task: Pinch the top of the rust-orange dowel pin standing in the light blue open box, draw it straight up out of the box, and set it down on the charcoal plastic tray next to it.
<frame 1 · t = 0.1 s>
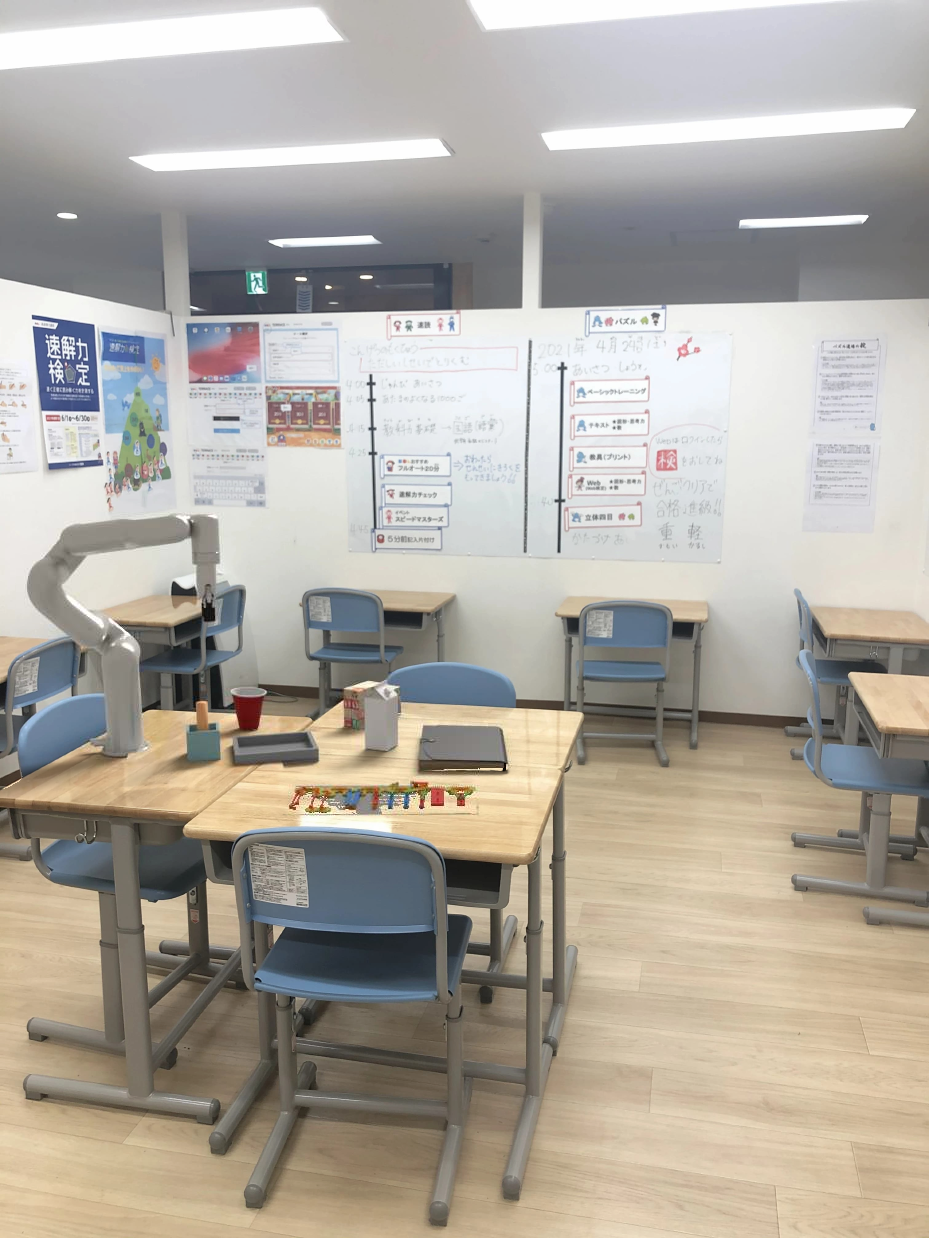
hand: (208, 619, 260), 37 cm above the table, tool pointing down, fingers open, 9 cm apart
light blue open box: (204, 759, 252), on the table
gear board: (383, 802, 222), on the table
stack of blocks: (373, 720, 292), on the table
tray: (274, 754, 256), on the table
plastic cup: (250, 728, 282), on the table
file folder: (462, 754, 259), on the table
milk carton: (381, 747, 264), on the table
dowel pin: (203, 755, 252), point 1 cm above the table, touching light blue open box
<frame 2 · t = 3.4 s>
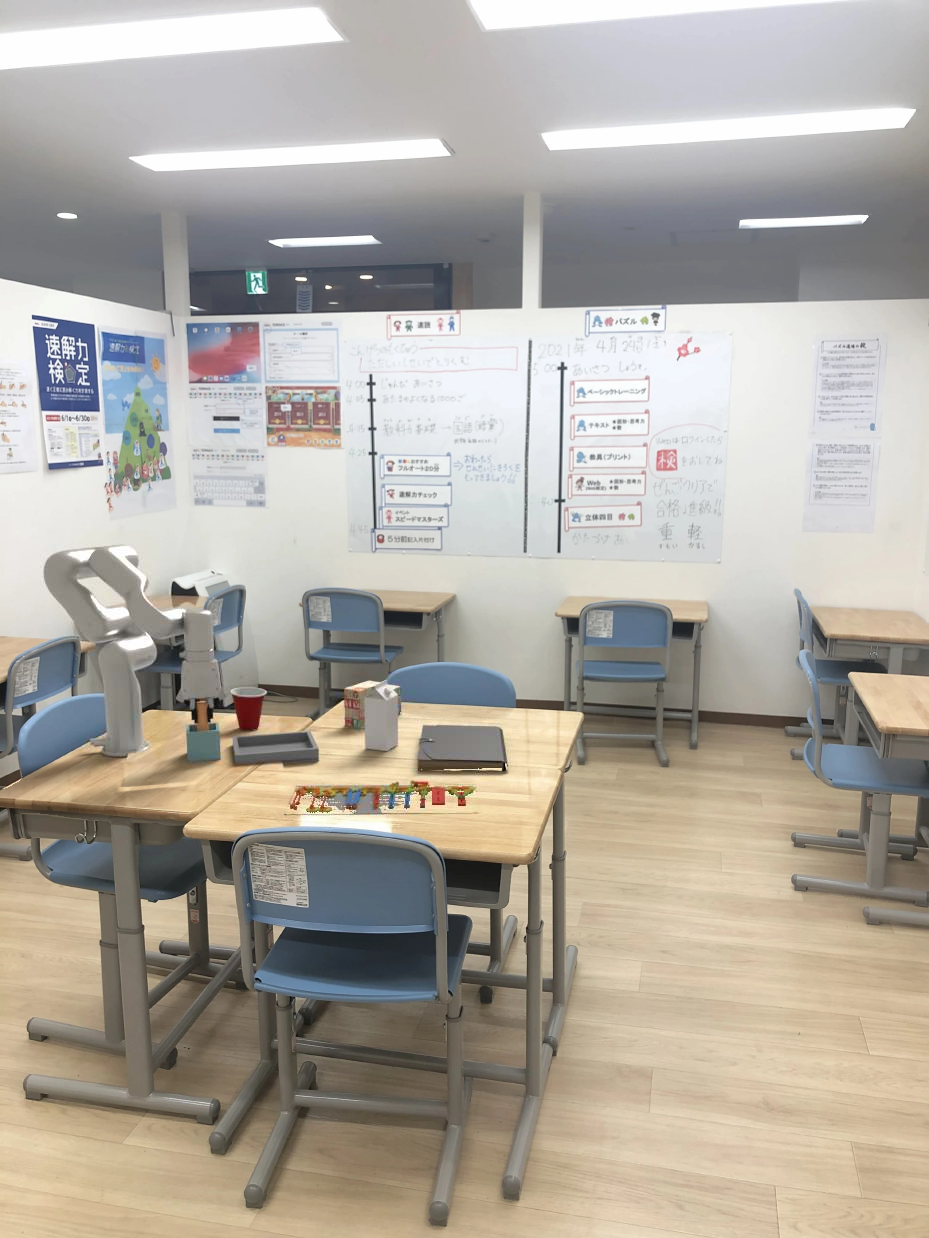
hand: (202, 721, 250), 11 cm above the table, tool pointing down, fingers closed on dowel pin, 3 cm apart
dowel pin: (203, 755, 252), point 1 cm above the table, touching light blue open box, gripper
everything else where it was.
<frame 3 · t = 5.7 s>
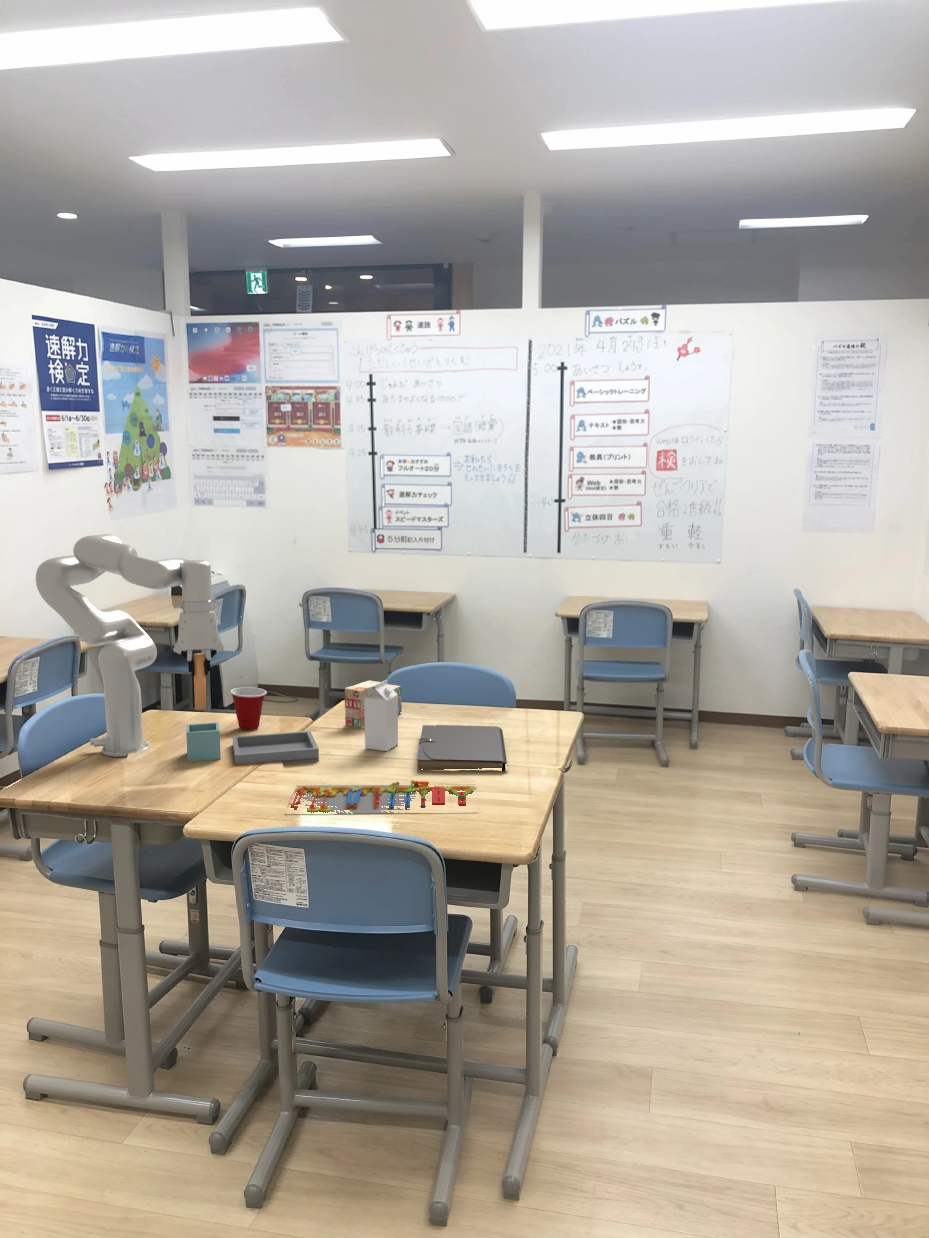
hand: (199, 673, 248), 24 cm above the table, tool pointing down, fingers closed on dowel pin, 3 cm apart
dowel pin: (200, 708, 250), point 14 cm above the table, touching gripper
everything else where it was.
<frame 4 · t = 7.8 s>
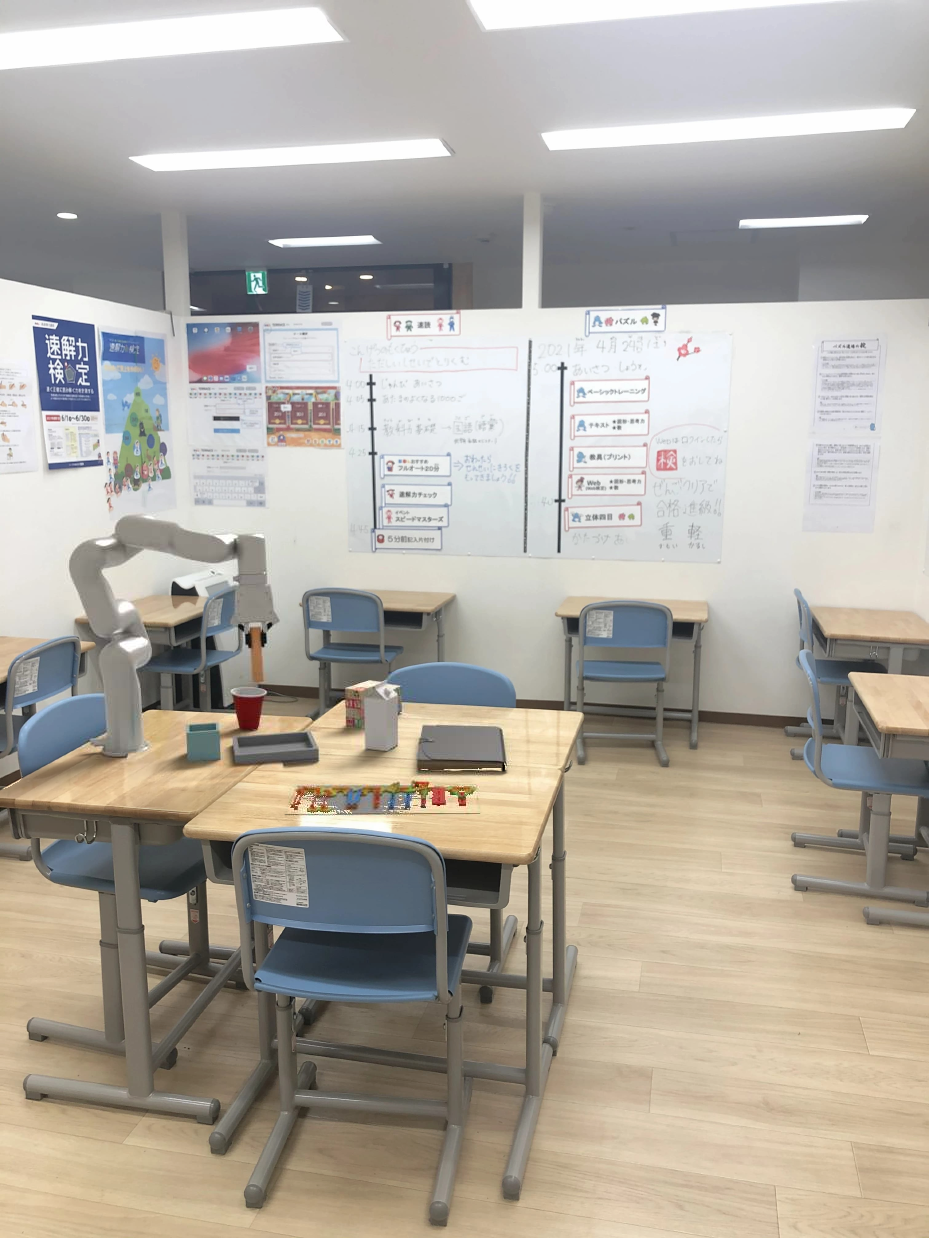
hand: (256, 646, 250), 31 cm above the table, tool pointing down, fingers closed on dowel pin, 3 cm apart
dowel pin: (257, 681, 252), point 21 cm above the table, touching gripper
everything else where it was.
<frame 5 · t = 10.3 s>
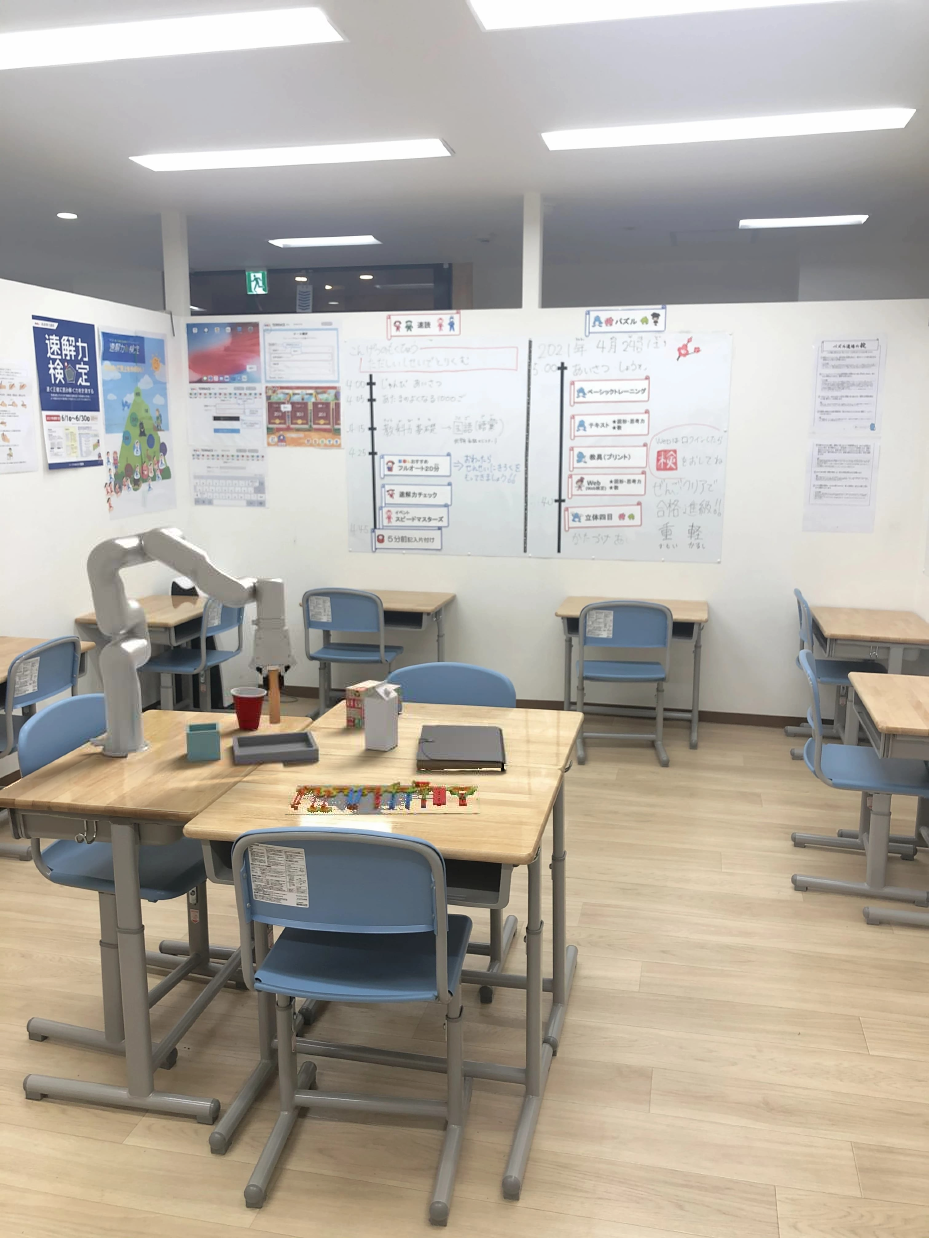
hand: (273, 688, 253), 19 cm above the table, tool pointing down, fingers closed on dowel pin, 3 cm apart
dowel pin: (275, 722, 255), point 9 cm above the table, touching gripper
when the fingers open (12 cm above the table, at t = 12.3 s): dowel pin drops 1 cm, resting on tray.
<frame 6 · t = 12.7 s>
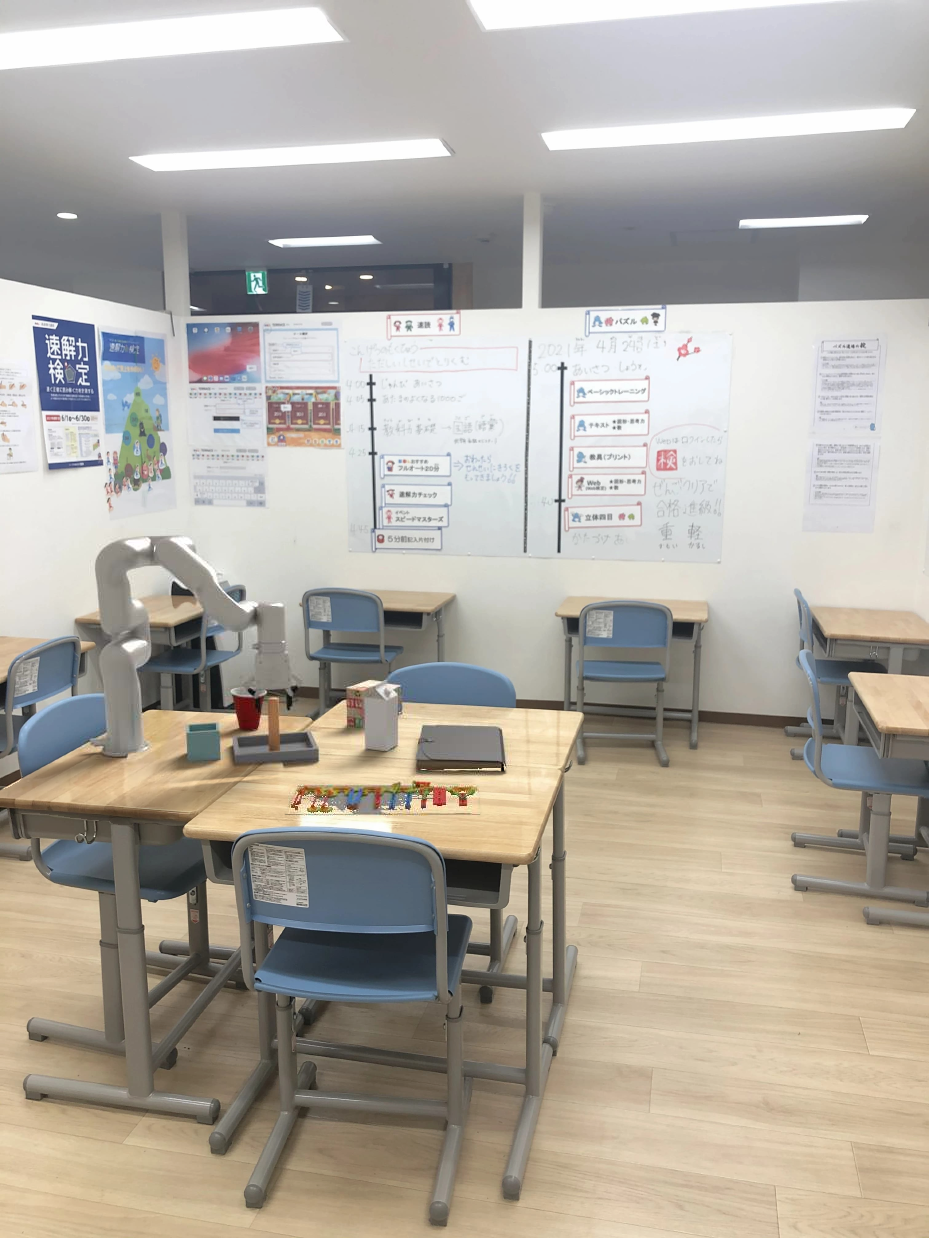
hand: (273, 709, 254), 13 cm above the table, tool pointing down, fingers open, 7 cm apart
dowel pin: (274, 751, 256), point 1 cm above the table, touching tray
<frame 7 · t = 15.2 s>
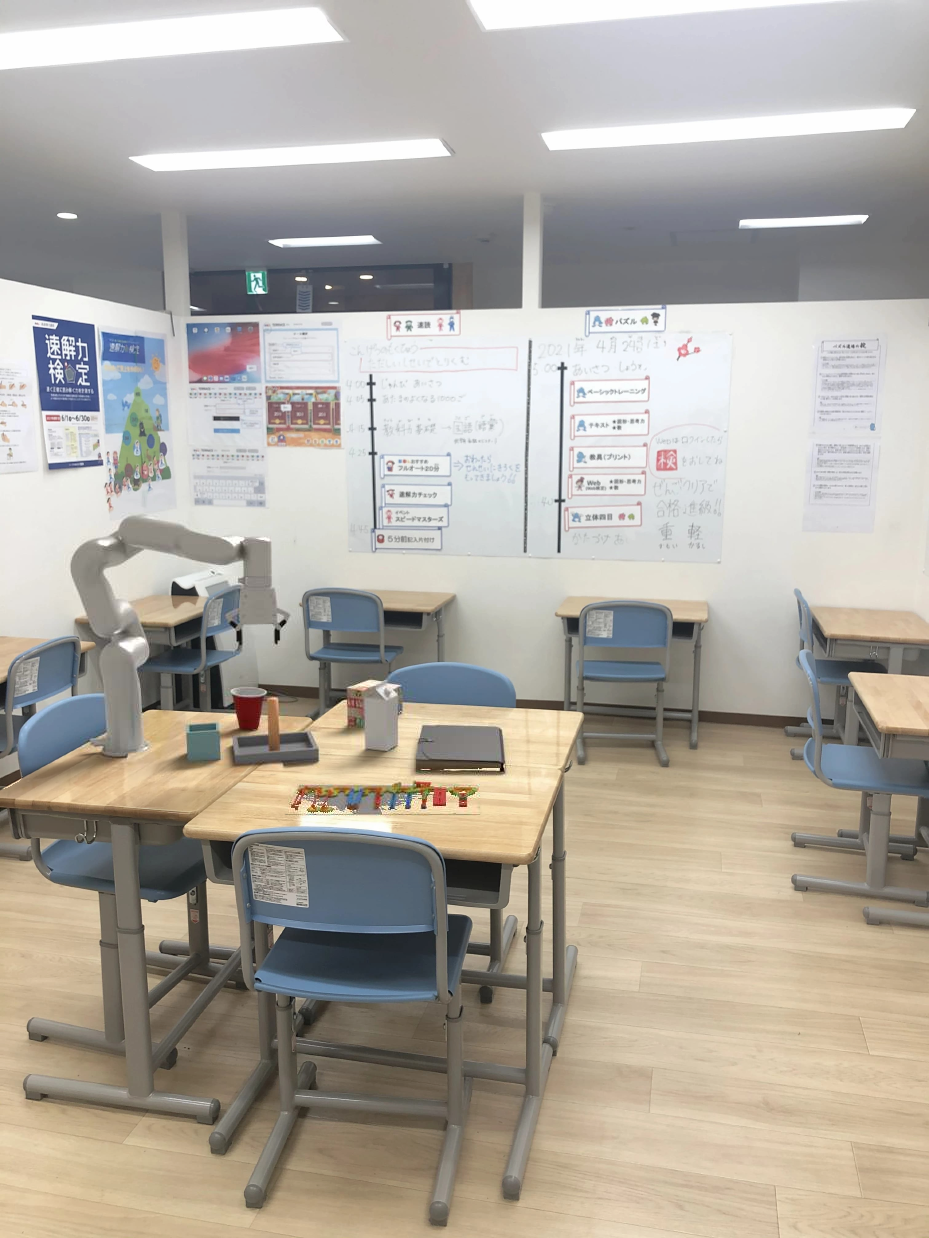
hand: (258, 643, 254), 31 cm above the table, tool pointing down, fingers open, 9 cm apart
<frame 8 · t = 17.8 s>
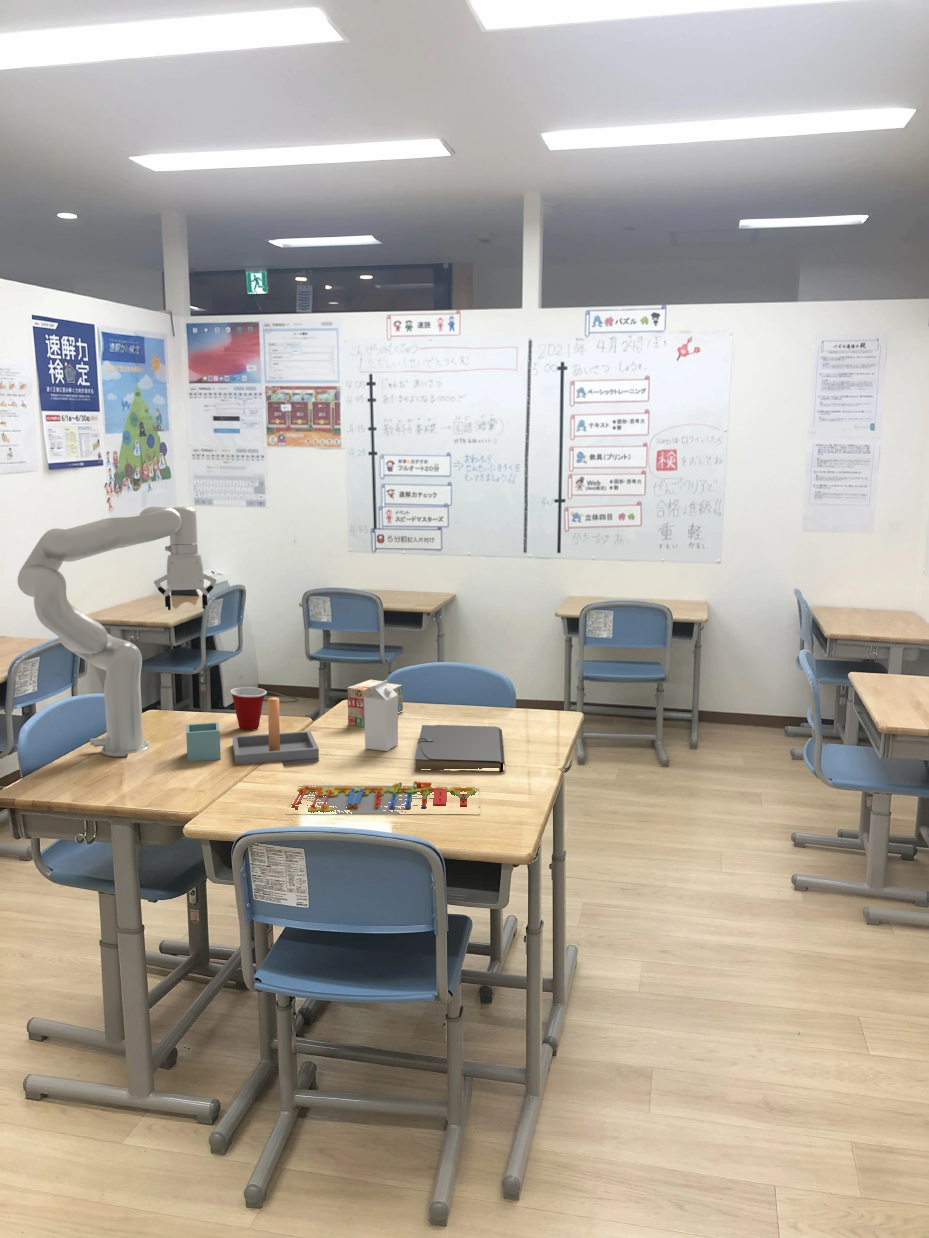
hand: (186, 608, 268), 38 cm above the table, tool pointing down, fingers open, 9 cm apart
at the end: dowel pin inside the target area on the tray (0.1 cm from its centre), point 1.0 cm above the tray's base; the gripper is holding nothing; dowel pin touching tray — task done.
